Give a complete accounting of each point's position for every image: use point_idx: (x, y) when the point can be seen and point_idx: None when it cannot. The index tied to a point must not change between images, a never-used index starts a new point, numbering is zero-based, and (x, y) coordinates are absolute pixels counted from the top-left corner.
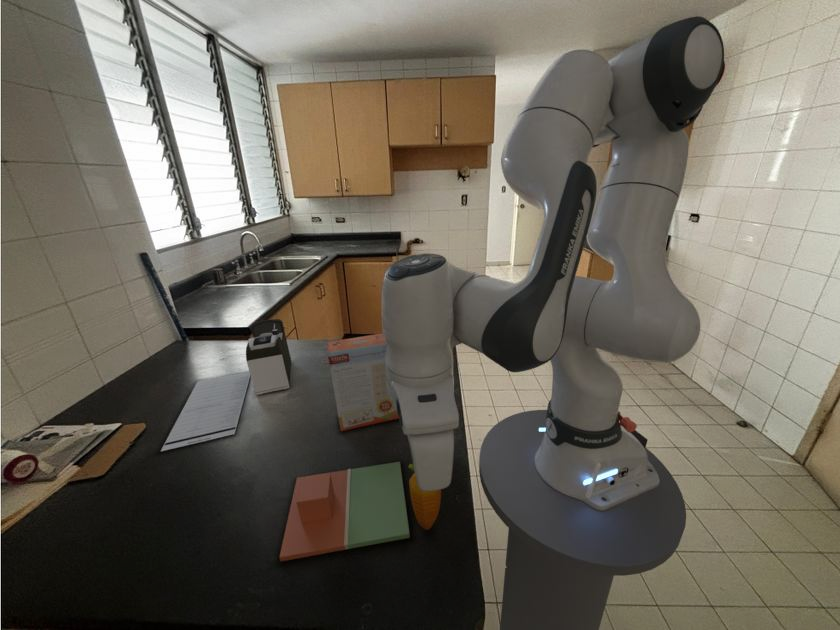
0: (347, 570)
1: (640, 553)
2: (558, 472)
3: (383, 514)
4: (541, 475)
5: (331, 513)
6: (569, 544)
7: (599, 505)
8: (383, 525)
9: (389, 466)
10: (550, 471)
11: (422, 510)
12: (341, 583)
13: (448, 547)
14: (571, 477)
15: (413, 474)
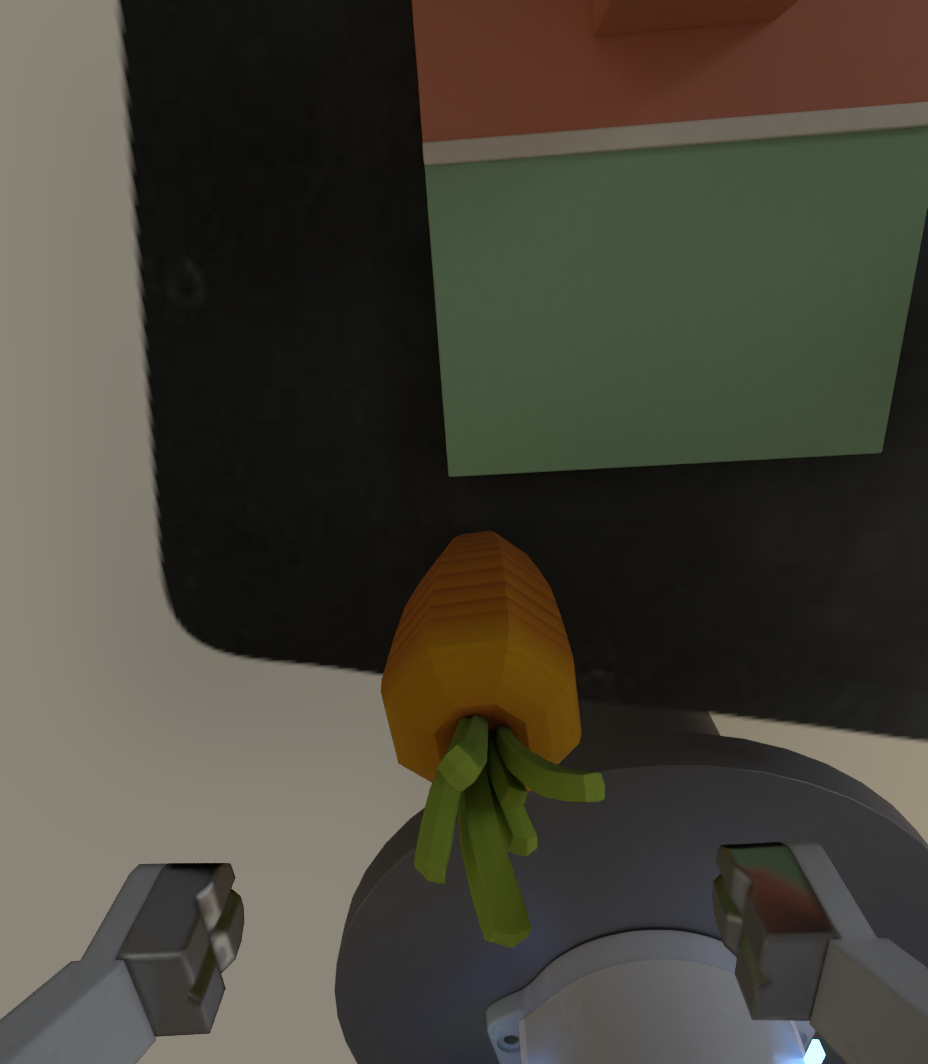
0: (329, 176)
1: (360, 1025)
2: (600, 1020)
3: (562, 356)
4: (638, 935)
5: (606, 23)
6: (397, 909)
7: (490, 1025)
8: (503, 357)
9: (867, 392)
10: (622, 990)
11: (402, 619)
12: (274, 152)
13: (396, 608)
14: (567, 1045)
15: (539, 666)
